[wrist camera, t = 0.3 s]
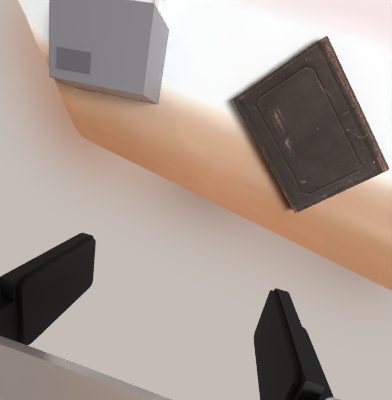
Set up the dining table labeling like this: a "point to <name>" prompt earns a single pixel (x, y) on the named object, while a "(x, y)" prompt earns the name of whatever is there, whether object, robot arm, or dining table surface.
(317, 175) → the hardcover book
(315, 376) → the robot arm
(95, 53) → the housing
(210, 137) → the dining table surface
